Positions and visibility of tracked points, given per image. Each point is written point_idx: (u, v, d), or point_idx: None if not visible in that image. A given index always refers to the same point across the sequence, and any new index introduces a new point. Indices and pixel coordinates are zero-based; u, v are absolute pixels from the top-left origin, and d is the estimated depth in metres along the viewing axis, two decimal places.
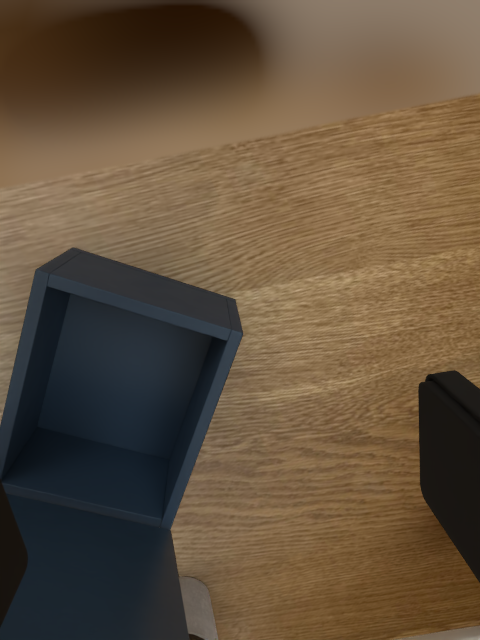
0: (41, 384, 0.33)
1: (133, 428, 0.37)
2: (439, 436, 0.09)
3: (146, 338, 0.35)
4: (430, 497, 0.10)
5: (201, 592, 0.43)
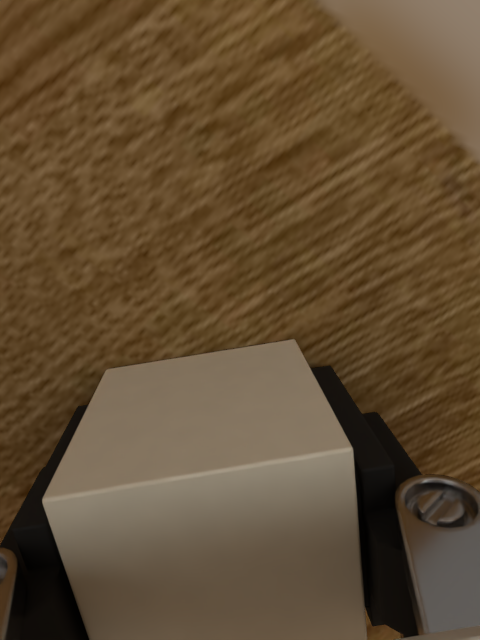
0: None
1: None
2: None
3: None
4: None
5: None
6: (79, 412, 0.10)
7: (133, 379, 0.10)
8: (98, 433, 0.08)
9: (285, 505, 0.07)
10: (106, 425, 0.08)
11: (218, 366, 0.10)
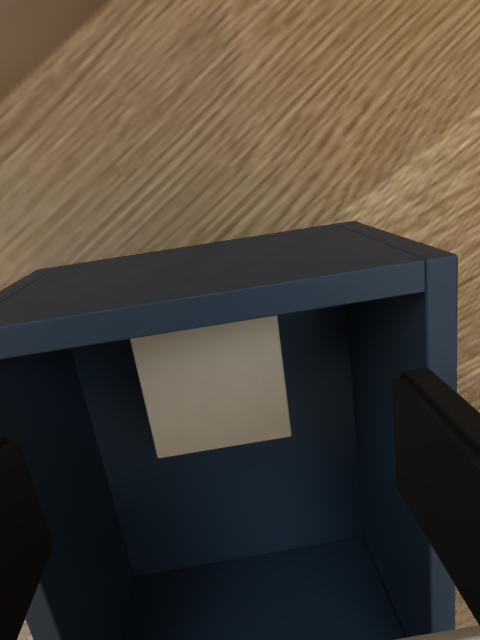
0: (99, 524, 0.18)
1: (283, 515, 0.21)
2: (410, 430, 0.09)
3: None
4: (404, 490, 0.10)
5: None
6: None
7: None
8: None
9: (244, 338, 0.14)
10: None
11: None
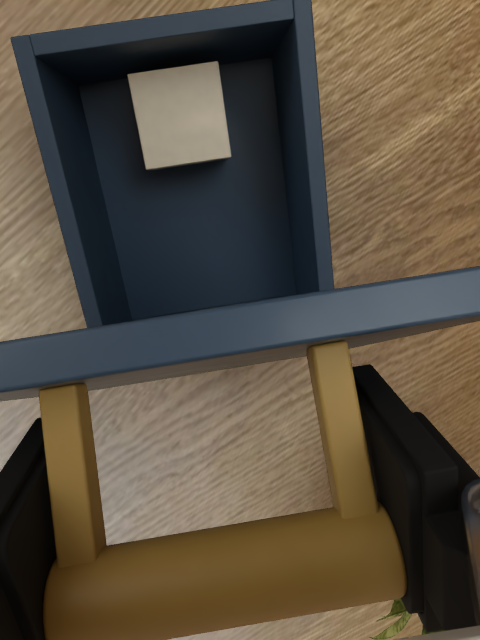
0: (108, 250, 0.27)
1: (237, 272, 0.30)
2: None
3: None
4: None
5: None
6: (36, 425, 0.10)
7: None
8: None
9: (199, 81, 0.22)
10: None
11: None
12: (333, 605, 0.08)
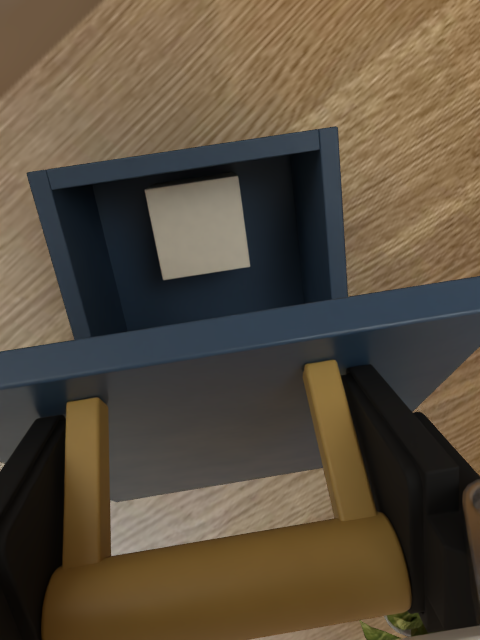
0: None
1: None
2: None
3: None
4: None
5: None
6: (35, 425, 0.10)
7: (166, 182, 0.25)
8: (157, 185, 0.23)
9: (218, 195, 0.21)
10: (159, 185, 0.23)
11: (200, 177, 0.24)
12: (336, 607, 0.07)
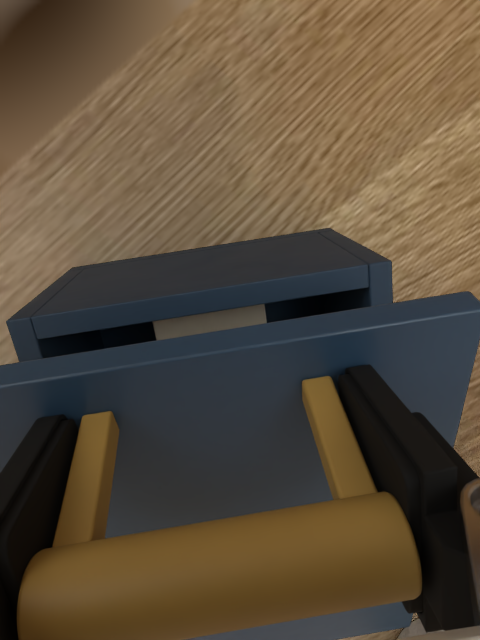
0: None
1: None
2: (351, 424, 0.10)
3: None
4: None
5: None
6: (37, 425, 0.10)
7: None
8: None
9: (240, 322, 0.18)
10: None
11: None
12: (335, 567, 0.07)
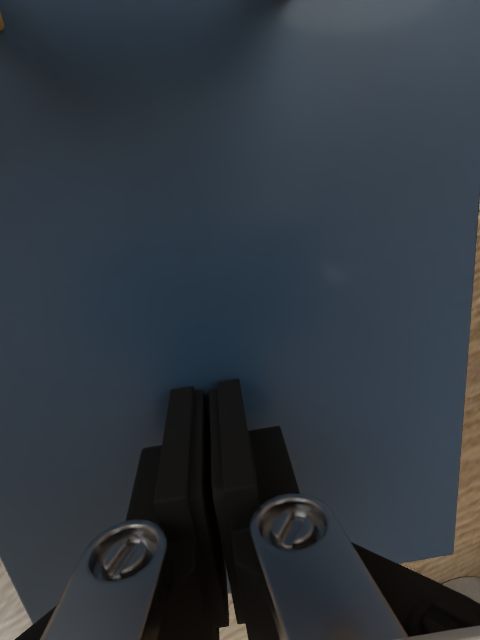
0: None
1: None
2: None
3: None
4: None
5: None
6: (175, 395, 0.10)
7: None
8: None
9: None
10: None
11: None
12: None
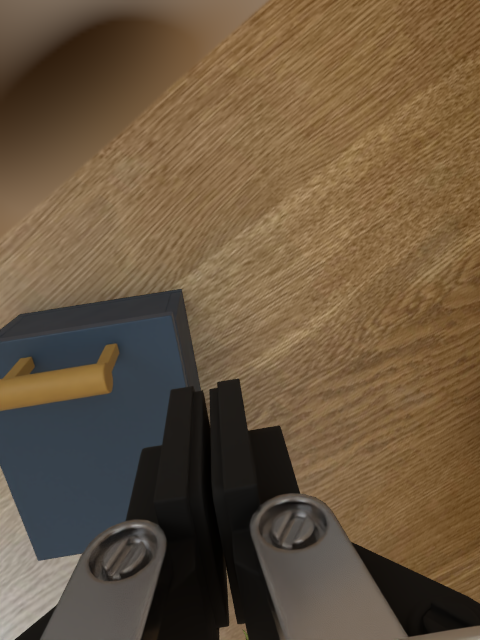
0: None
1: None
2: None
3: None
4: None
5: None
6: (175, 395, 0.10)
7: None
8: None
9: None
10: None
11: None
12: (78, 375, 0.23)
